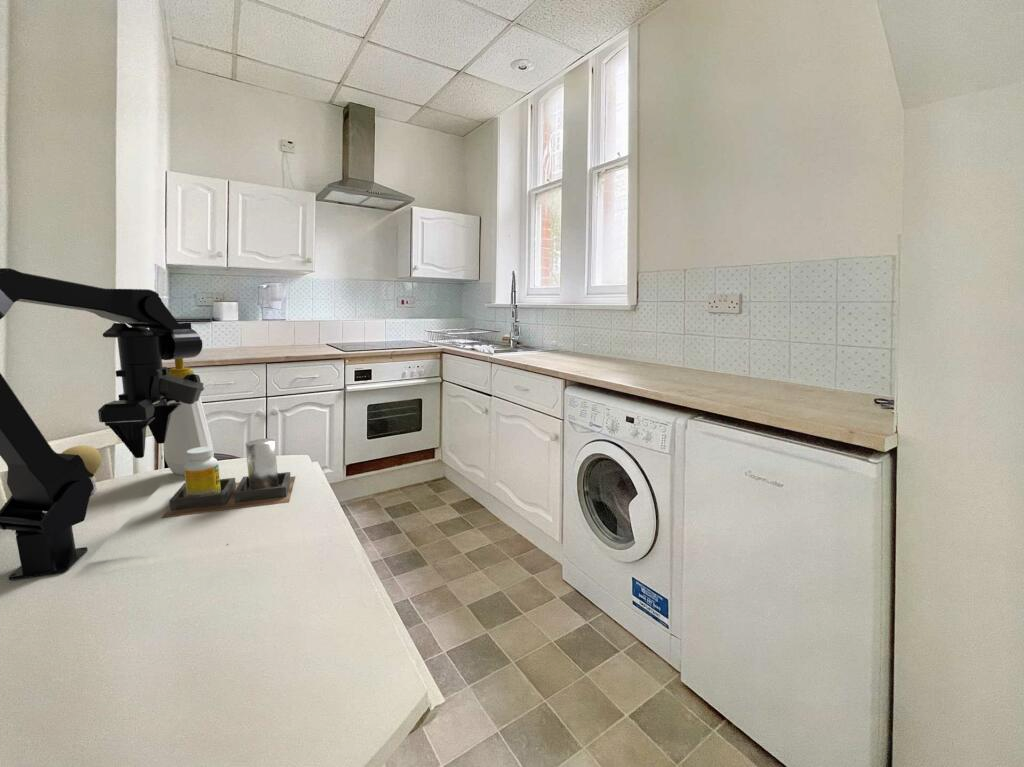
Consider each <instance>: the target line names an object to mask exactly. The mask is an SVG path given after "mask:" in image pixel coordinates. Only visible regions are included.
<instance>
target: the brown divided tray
mask: <svg viewBox="0 0 1024 767" xmlns="http://www.w3.org/2000/svg"><path fill="white" fill-rule="evenodd" d="M295 480H296V476H295V475H294V476H291V472H290V471H288V472H287V471H286V472H278V485H279V486H278V487H269V488H260V489H251V490H250V487H249V476H247V475H246V476H242V478H241V480H240V481H239V482H236V477H230V478H229V477H227V478H221V479H220V487H221V493H216V494H207V495H198V496H189V497H187V491H186V482H184V483H183V484H182V485H181V487H180V488H179V489H178V490H177V491H176V492H175V494H174V495H172V497H171V498H170V499H169V507H168V509H167V510H166V511H165V512H164V514H162V516H161V517H160V518H161V519H165V518H174V517H182V516H183V517H185V516H190V515H198V514H207V513H215V512H222V511H231V510H238V509H239V510H240V509H246V508H255V507H261V506H270V505H271V506H272V505H277V504H286V503H290V501H291V497H292V492H293V488H294V486H295V485H294V484H295Z"/></svg>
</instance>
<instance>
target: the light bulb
mask: <svg viewBox="0 0 1024 767" xmlns="http://www.w3.org/2000/svg"><path fill="white" fill-rule="evenodd" d="M61 454H74V455H79V456H80V457H81V458H82V459H83V462H84V464H85V467H86V469H87V470H88V471H89V472H90V473H92V474H94V475H95V474H96V473H97V471H98V470H99V469H100V467H101V465H102V461H103V460H102V454H101V453H100V451H99V450H98V449H97V448H96V447H93V446H90V445H76V446H72V447H68V448H67V449H65V450H63V451H62V452H61ZM89 478H90V479H91V480H92V483H93V487H94V489H93V491H92V492H91V495H94V493H95V492H97V490H98V487H97V482H96V481H97V480H96V477H95V476H93V477H89Z"/></svg>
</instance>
